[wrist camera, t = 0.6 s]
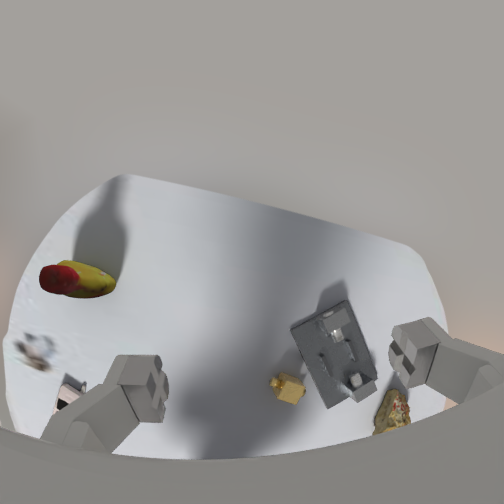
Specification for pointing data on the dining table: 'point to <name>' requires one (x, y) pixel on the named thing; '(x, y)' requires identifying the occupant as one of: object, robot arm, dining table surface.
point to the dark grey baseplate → (336, 355)
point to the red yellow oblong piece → (76, 280)
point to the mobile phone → (67, 396)
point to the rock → (392, 412)
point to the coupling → (288, 388)
